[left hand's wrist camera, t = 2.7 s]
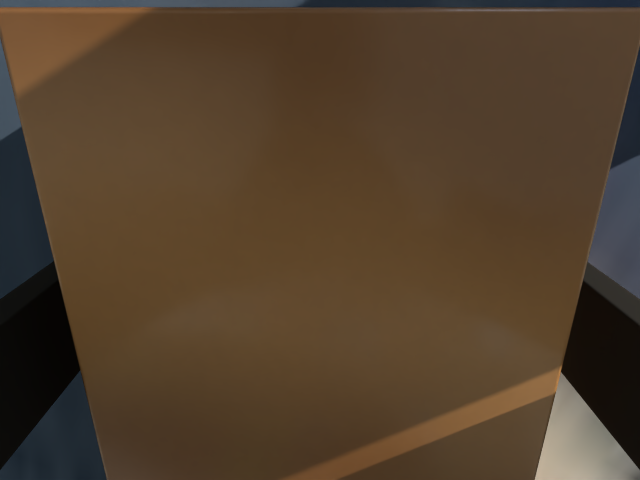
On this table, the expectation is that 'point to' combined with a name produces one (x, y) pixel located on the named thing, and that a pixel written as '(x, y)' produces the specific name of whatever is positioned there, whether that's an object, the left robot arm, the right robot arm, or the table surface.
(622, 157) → the table surface
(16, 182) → the table surface
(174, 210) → the thick board
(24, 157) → the table surface
